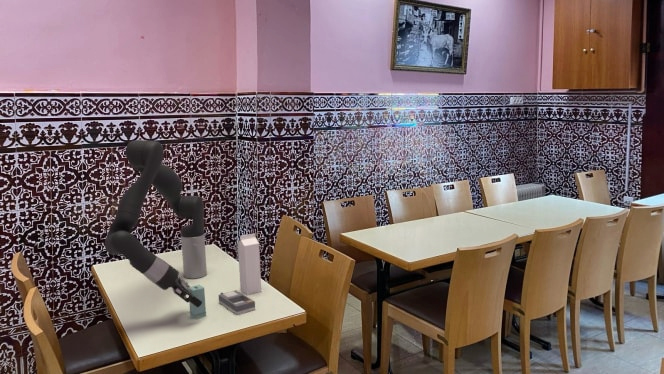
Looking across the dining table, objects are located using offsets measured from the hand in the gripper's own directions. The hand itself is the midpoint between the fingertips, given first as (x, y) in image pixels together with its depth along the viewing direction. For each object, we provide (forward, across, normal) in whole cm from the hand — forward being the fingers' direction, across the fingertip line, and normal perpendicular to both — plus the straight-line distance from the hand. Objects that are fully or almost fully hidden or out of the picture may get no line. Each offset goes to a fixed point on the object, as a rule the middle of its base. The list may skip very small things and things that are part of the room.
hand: (198, 300), depth 187 cm
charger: (+4, 0, +4) cm, 5 cm away
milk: (+19, +15, -11) cm, 27 cm away
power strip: (+13, +5, -5) cm, 15 cm away
